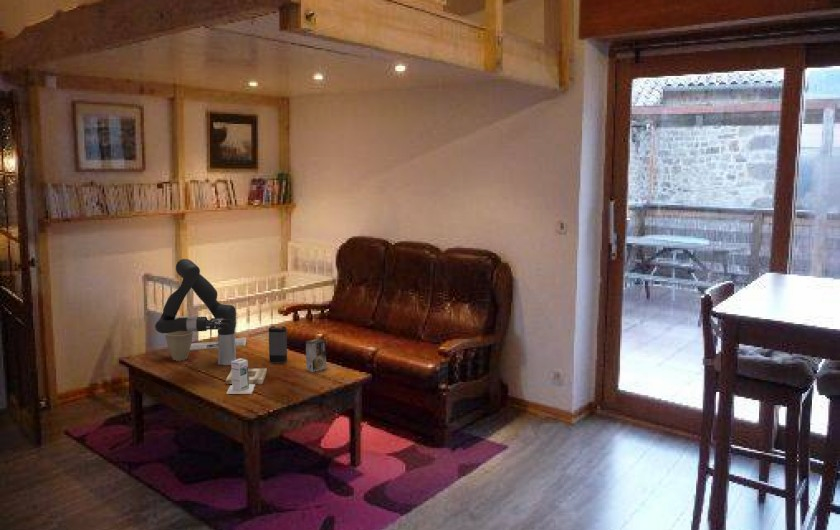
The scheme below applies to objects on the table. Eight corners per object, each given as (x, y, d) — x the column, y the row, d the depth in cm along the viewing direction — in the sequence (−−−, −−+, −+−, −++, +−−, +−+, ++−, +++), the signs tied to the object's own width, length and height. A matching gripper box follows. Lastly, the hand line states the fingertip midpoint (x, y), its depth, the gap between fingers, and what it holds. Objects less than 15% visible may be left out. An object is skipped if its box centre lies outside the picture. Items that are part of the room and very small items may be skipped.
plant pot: (161, 362, 372) (159, 335, 369) (174, 355, 386) (172, 328, 384) (186, 363, 370) (185, 336, 367) (198, 356, 385) (197, 329, 382)
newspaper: (186, 352, 394) (186, 346, 393) (186, 346, 405) (186, 341, 405) (247, 346, 406) (247, 341, 405) (245, 341, 417) (245, 336, 417)
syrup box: (240, 391, 324) (239, 362, 322) (232, 389, 327) (230, 360, 325) (249, 388, 329) (248, 359, 327) (240, 385, 332) (239, 357, 330)
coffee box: (319, 366, 367) (319, 338, 365) (326, 369, 363) (326, 340, 360) (305, 369, 361) (305, 341, 359) (312, 372, 357) (312, 343, 354)
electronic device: (287, 360, 377) (287, 326, 374) (284, 363, 371) (284, 329, 368) (272, 360, 378) (271, 325, 375) (268, 363, 372) (267, 328, 369)
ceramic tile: (226, 395, 322) (226, 393, 322) (230, 386, 334) (230, 384, 333) (251, 394, 323) (251, 392, 323) (255, 386, 335) (255, 384, 335)
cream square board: (225, 384, 336) (225, 380, 336) (232, 373, 354) (232, 369, 354) (262, 384, 338) (261, 379, 338) (266, 372, 356) (266, 368, 355)
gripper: (193, 320, 333) (226, 319, 334) (199, 313, 347) (231, 312, 348) (194, 334, 334) (227, 334, 336) (200, 327, 348) (232, 326, 350)
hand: (229, 323), depth 342 cm, fingers open, 8 cm apart
